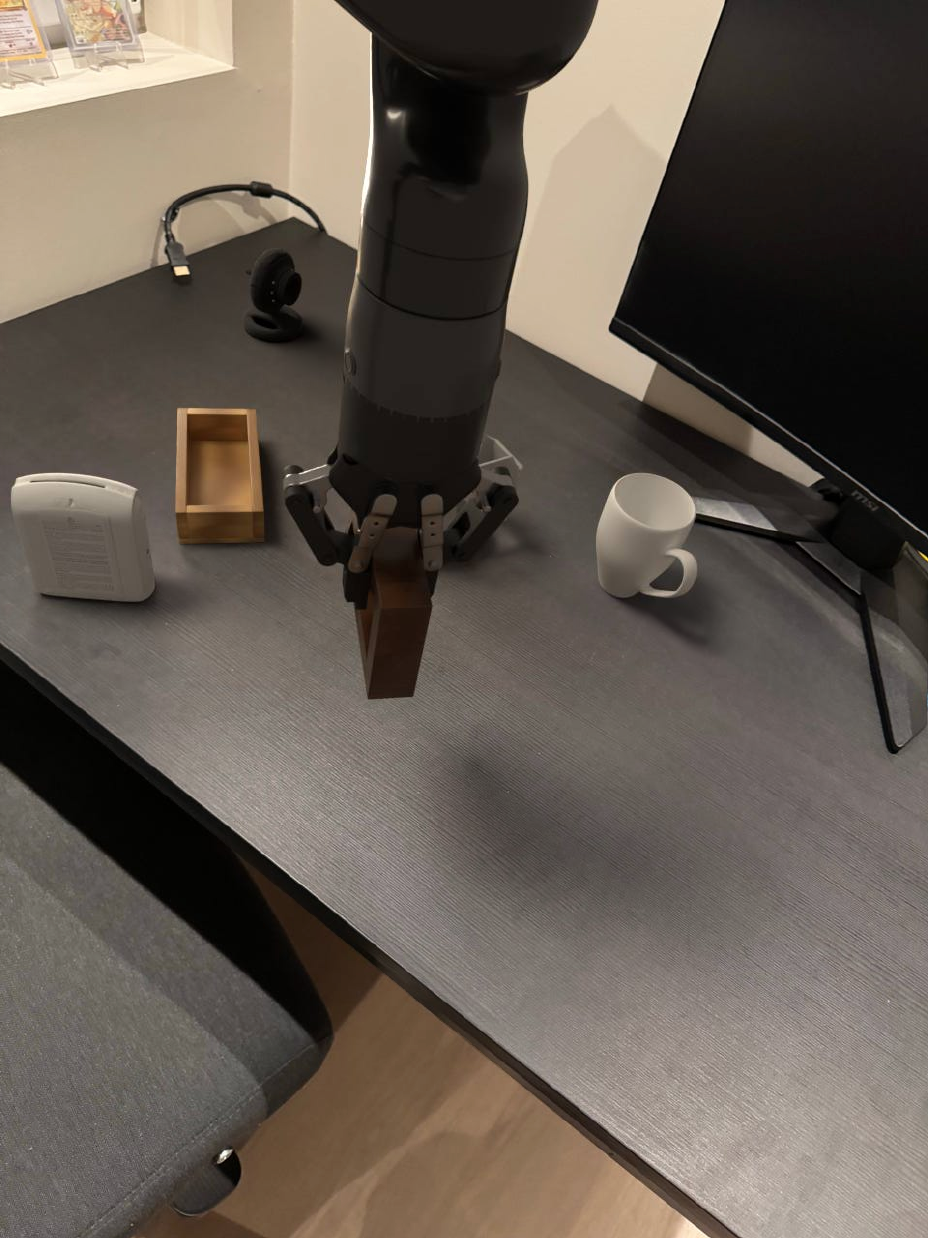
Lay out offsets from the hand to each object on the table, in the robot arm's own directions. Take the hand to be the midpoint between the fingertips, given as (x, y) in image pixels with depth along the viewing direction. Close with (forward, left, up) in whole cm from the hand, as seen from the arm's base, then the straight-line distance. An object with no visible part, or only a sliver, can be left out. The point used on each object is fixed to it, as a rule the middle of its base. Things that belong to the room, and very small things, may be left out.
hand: (386, 598), depth 54 cm
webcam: (-4, +64, -20) cm, 68 cm away
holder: (-11, +33, -20) cm, 40 cm away
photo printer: (-22, +20, -20) cm, 36 cm away
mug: (+29, +16, -20) cm, 39 cm away
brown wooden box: (0, 0, -4) cm, 4 cm away
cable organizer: (+12, +25, -20) cm, 35 cm away
